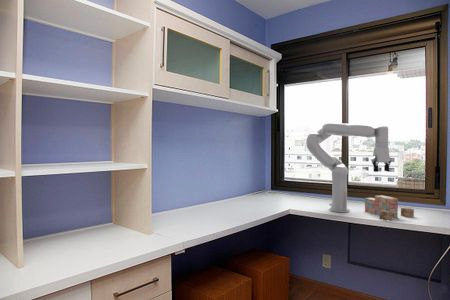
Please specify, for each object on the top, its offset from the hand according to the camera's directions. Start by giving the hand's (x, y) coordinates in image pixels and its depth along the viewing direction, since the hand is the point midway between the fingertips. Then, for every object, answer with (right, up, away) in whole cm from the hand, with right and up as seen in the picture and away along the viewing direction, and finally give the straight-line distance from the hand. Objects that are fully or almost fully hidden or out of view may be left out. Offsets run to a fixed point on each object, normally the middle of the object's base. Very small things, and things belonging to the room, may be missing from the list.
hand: (381, 171), depth 193 cm
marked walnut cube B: (+14, -28, -5) cm, 32 cm away
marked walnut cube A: (-4, -28, -13) cm, 32 cm away
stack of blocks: (0, -29, +1) cm, 29 cm away
